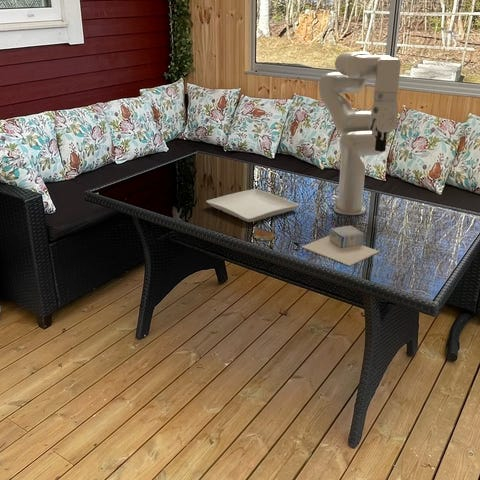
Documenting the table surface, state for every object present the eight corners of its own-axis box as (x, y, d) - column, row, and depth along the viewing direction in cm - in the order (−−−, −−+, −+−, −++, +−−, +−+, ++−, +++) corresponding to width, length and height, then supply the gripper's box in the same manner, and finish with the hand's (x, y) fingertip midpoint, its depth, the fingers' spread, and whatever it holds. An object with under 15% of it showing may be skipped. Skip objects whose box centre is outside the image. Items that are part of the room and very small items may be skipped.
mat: (301, 247, 185) (301, 246, 185) (331, 235, 195) (331, 234, 195) (349, 266, 172) (349, 265, 172) (379, 252, 182) (379, 251, 182)
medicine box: (350, 236, 193) (328, 240, 191) (351, 224, 192) (329, 228, 189) (362, 244, 187) (340, 248, 184) (364, 232, 185) (341, 236, 182)
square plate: (248, 228, 203) (248, 218, 202) (204, 208, 223) (204, 199, 221) (300, 212, 219) (300, 202, 218) (255, 195, 239) (255, 187, 237)
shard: (255, 229, 202) (255, 225, 201) (276, 230, 201) (276, 226, 200) (253, 241, 192) (253, 236, 191) (275, 242, 191) (275, 237, 190)
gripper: (382, 100, 176) (376, 156, 183) (407, 95, 185) (401, 149, 192) (362, 97, 181) (358, 152, 188) (388, 93, 190) (383, 145, 197)
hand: (380, 150), depth 190 cm, fingers closed
